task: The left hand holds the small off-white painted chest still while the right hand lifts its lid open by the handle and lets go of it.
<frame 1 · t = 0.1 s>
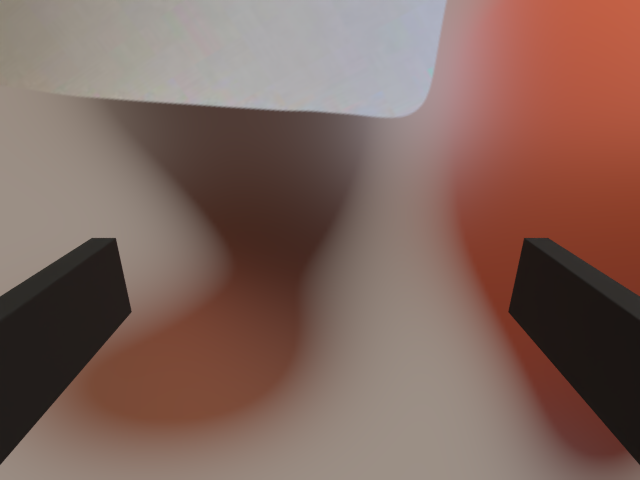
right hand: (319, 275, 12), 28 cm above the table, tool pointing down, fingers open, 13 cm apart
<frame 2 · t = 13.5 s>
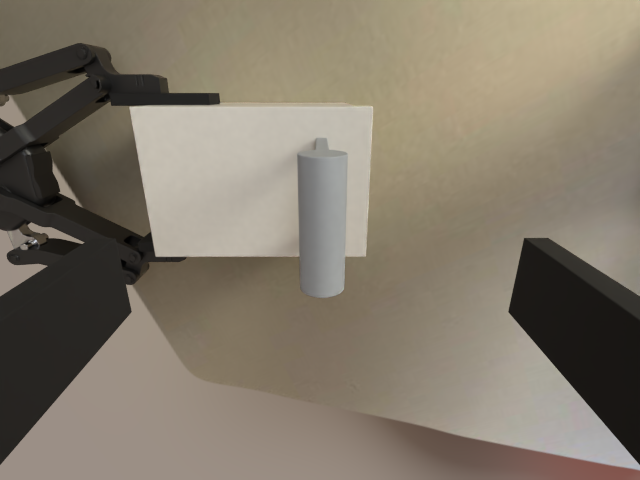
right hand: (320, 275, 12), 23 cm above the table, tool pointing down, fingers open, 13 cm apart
left hand: (221, 174, 28), fingers closed on chest, 10 cm apart
lid: (246, 202, 21), point 14 cm above the table, hinge at 0.0°
chest: (268, 160, 33), on the table, touching left hand
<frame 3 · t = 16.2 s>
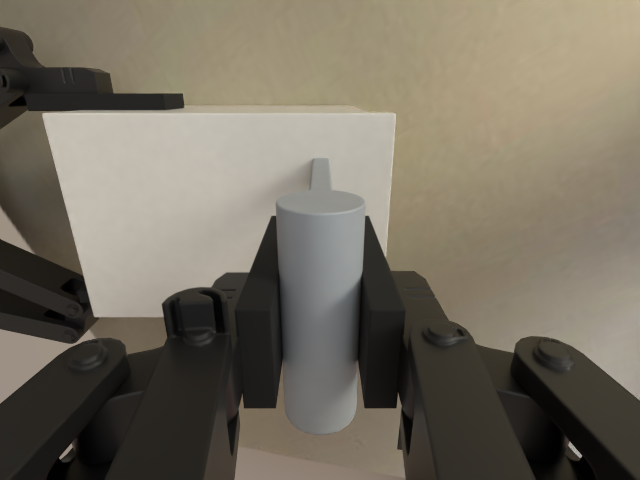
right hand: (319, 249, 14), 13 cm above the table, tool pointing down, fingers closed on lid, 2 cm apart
lid: (206, 258, 14), point 14 cm above the table, hinge at 0.7°, touching right hand
chest: (253, 178, 26), on the table, touching left hand
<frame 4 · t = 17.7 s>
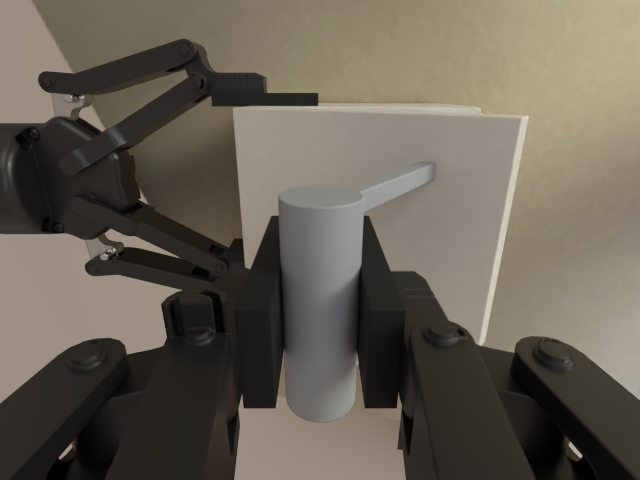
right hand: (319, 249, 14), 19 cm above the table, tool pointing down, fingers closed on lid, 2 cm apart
left hand: (318, 180, 26), fingers closed on chest, 10 cm apart
lid: (293, 237, 16), point 17 cm above the table, hinge at 33.7°, touching right hand
chest: (352, 165, 31), on the table, touching left hand
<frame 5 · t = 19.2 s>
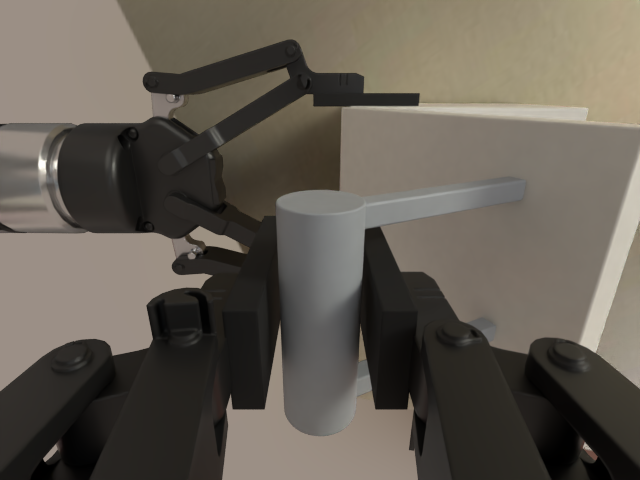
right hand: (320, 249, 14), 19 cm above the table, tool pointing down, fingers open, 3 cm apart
left hand: (406, 179, 26), fingers closed on chest, 10 cm apart
lid: (353, 241, 15), point 18 cm above the table, hinge at 59.7°
chest: (426, 165, 32), on the table, touching left hand
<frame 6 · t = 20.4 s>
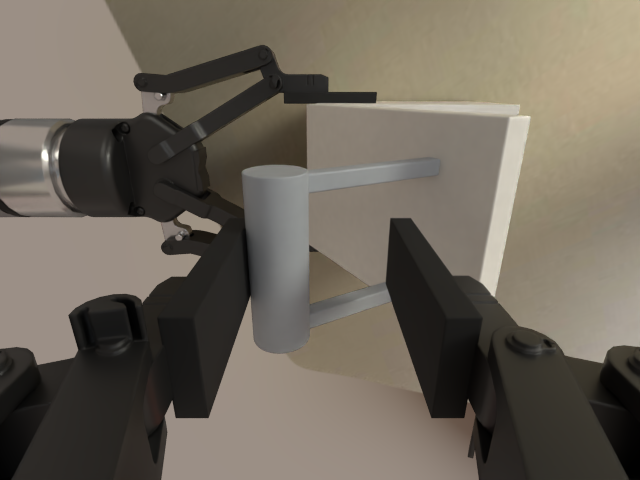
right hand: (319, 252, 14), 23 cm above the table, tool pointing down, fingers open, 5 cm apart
left hand: (370, 168, 30), fingers closed on chest, 10 cm apart
lid: (312, 214, 19), point 18 cm above the table, hinge at 57.6°, touching right hand
chest: (392, 157, 35), on the table, touching left hand
when the left hand's fingers open (6 cm above the table, at t = 23.1 s): chest stays where it is, on the table.
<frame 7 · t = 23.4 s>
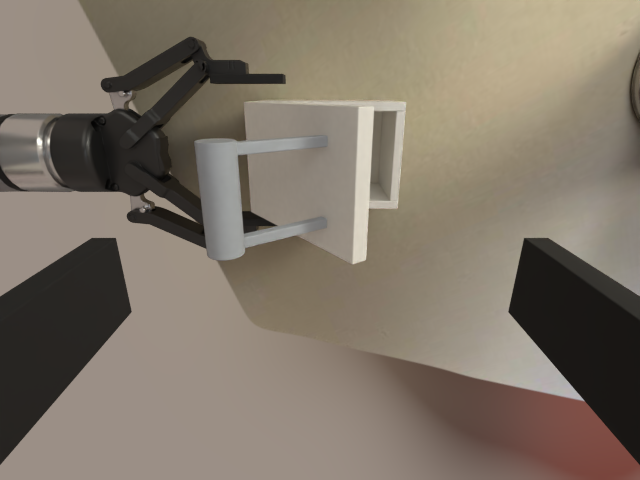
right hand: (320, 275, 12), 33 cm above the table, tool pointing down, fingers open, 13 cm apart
left hand: (287, 153, 37), fingers open, 13 cm apart
lid: (247, 178, 26), point 18 cm above the table, hinge at 53.4°
chest: (326, 145, 43), on the table
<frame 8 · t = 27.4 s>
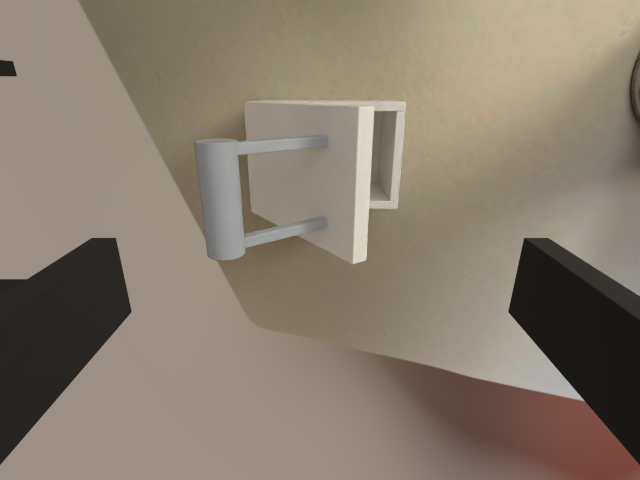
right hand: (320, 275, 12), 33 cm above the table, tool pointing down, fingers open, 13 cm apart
lid: (248, 178, 26), point 18 cm above the table, hinge at 53.4°
chest: (326, 145, 43), on the table
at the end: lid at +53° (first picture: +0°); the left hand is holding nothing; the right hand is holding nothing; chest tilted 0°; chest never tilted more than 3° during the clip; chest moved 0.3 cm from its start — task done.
